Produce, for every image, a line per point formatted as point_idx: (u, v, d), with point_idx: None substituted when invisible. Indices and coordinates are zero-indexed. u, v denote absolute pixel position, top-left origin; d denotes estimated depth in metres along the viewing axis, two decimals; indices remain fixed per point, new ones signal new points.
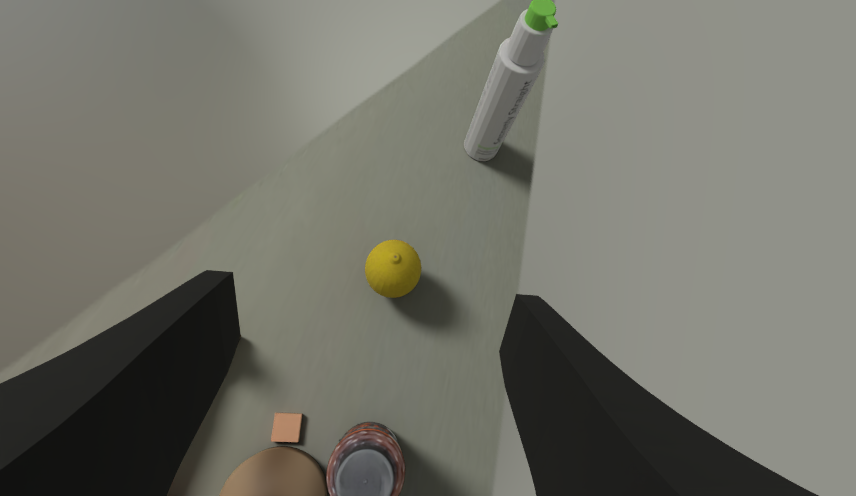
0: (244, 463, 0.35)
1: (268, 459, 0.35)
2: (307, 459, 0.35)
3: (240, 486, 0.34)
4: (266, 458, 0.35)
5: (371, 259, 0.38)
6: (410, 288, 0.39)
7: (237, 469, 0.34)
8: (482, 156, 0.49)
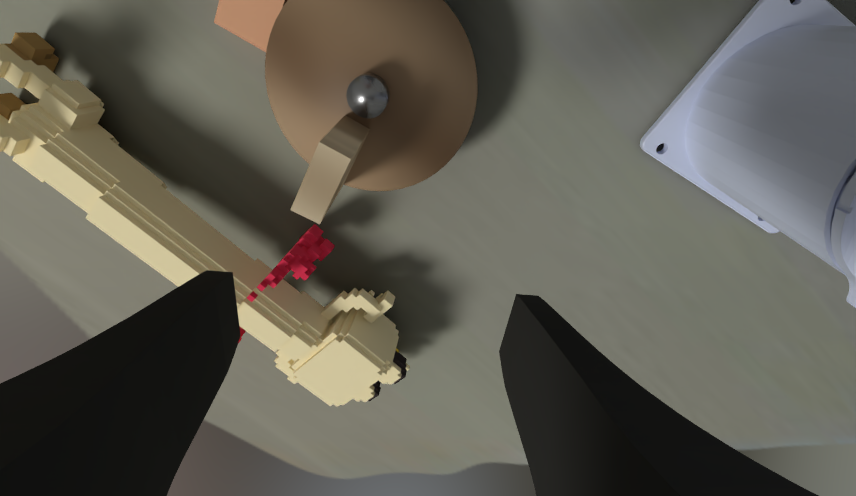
0: (276, 111, 0.17)
1: (283, 64, 0.16)
2: None
3: (313, 132, 0.18)
4: (280, 67, 0.16)
5: None
6: None
7: (282, 127, 0.18)
8: None
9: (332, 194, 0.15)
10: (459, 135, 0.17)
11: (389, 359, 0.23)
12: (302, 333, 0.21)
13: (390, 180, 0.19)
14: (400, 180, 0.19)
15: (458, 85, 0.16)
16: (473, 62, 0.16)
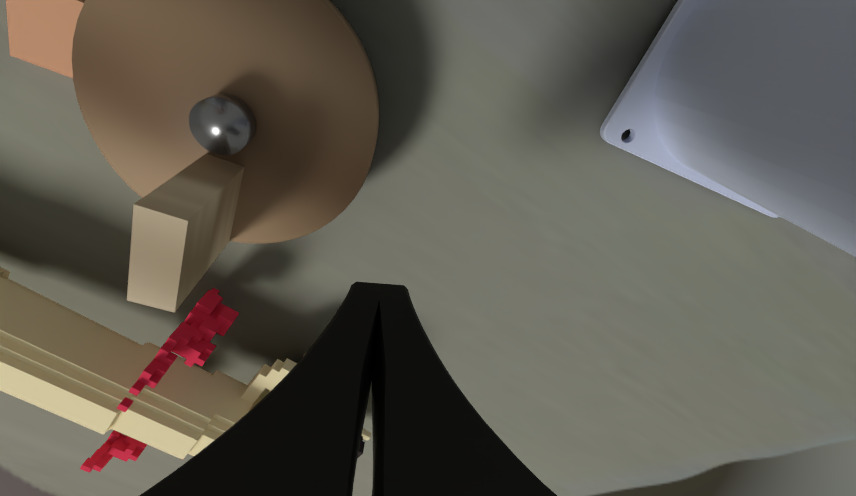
0: (113, 161, 0.13)
1: (102, 97, 0.12)
2: None
3: None
4: (99, 103, 0.12)
5: None
6: None
7: (128, 180, 0.13)
8: None
9: (178, 271, 0.10)
10: (363, 158, 0.13)
11: None
12: (215, 430, 0.17)
13: (288, 227, 0.14)
14: (301, 225, 0.14)
15: (346, 94, 0.12)
16: (359, 60, 0.12)
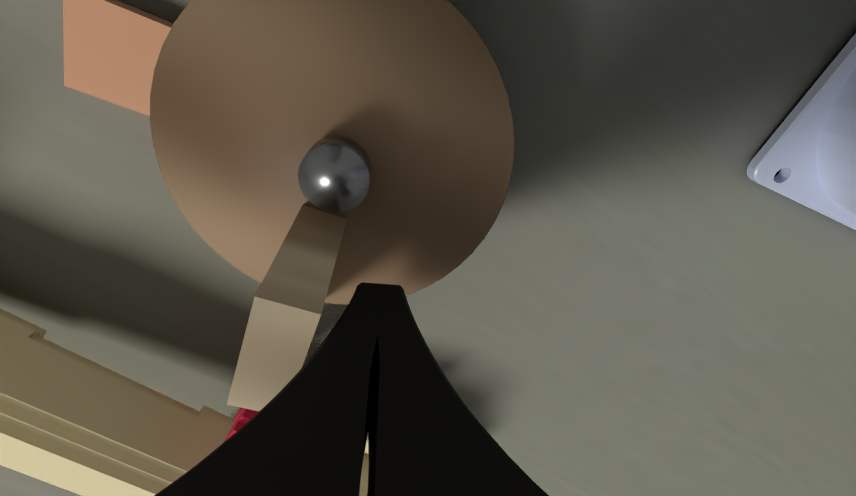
0: (189, 215, 0.11)
1: (183, 141, 0.10)
2: None
3: (256, 236, 0.11)
4: (180, 147, 0.10)
5: None
6: None
7: (205, 236, 0.11)
8: None
9: (297, 371, 0.08)
10: (490, 208, 0.11)
11: None
12: None
13: None
14: (404, 284, 0.12)
15: (482, 134, 0.10)
16: (504, 94, 0.09)
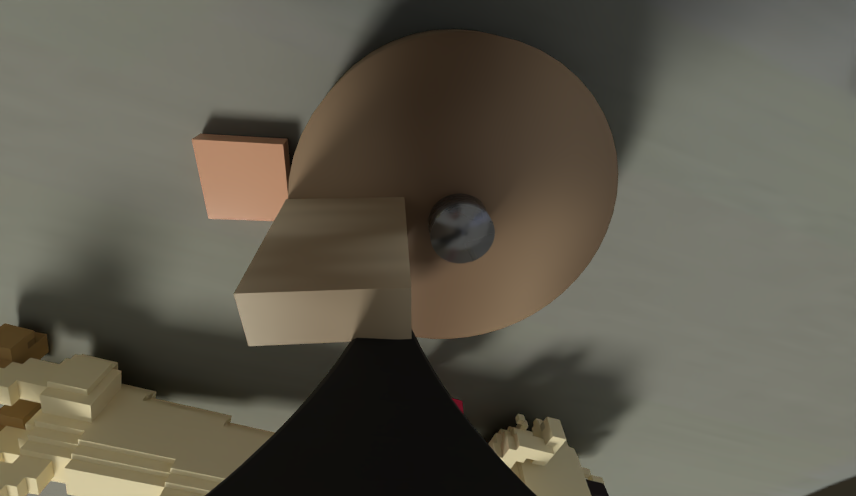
0: (342, 89, 0.09)
1: (428, 71, 0.09)
2: None
3: (347, 163, 0.10)
4: (420, 69, 0.09)
5: None
6: None
7: (322, 110, 0.09)
8: None
9: (326, 340, 0.08)
10: (459, 331, 0.13)
11: None
12: None
13: None
14: None
15: (515, 302, 0.13)
16: (548, 302, 0.13)
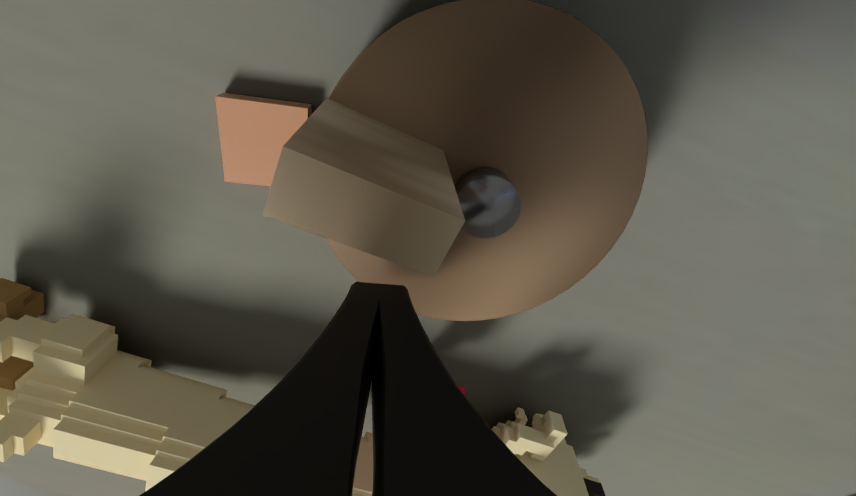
0: (441, 13, 0.09)
1: (526, 39, 0.09)
2: None
3: (407, 90, 0.09)
4: (521, 32, 0.09)
5: None
6: None
7: (411, 24, 0.09)
8: None
9: (348, 243, 0.07)
10: (426, 309, 0.13)
11: None
12: None
13: None
14: None
15: (490, 299, 0.12)
16: (518, 311, 0.13)
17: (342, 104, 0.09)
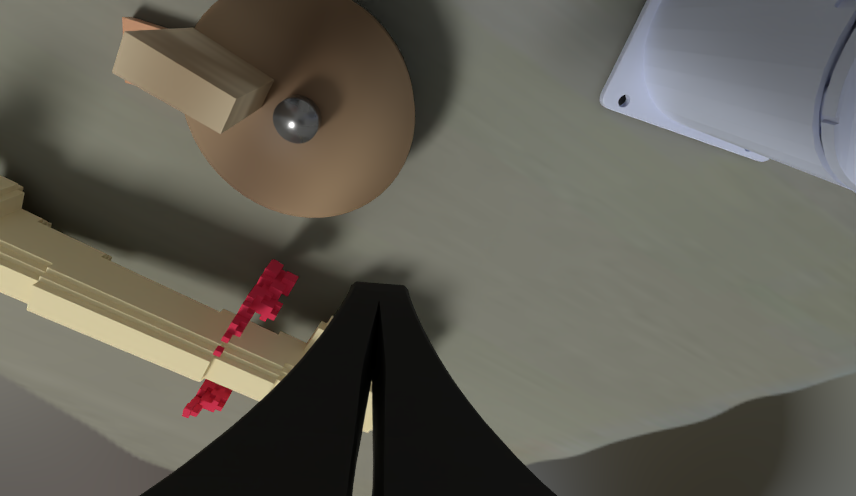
0: None
1: (327, 13, 0.14)
2: (405, 69, 0.15)
3: (248, 32, 0.14)
4: (322, 8, 0.14)
5: None
6: None
7: None
8: None
9: (166, 100, 0.11)
10: (265, 201, 0.17)
11: None
12: None
13: (200, 123, 0.16)
14: (203, 135, 0.16)
15: (313, 201, 0.17)
16: (334, 214, 0.18)
17: (203, 34, 0.14)
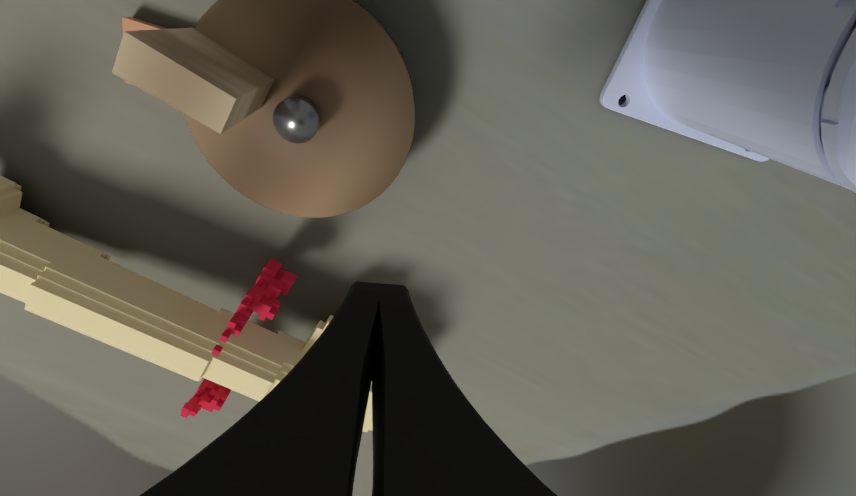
0: None
1: (327, 13, 0.14)
2: (405, 69, 0.15)
3: (248, 32, 0.14)
4: (322, 8, 0.14)
5: None
6: None
7: None
8: None
9: (166, 100, 0.11)
10: (265, 201, 0.17)
11: None
12: (285, 375, 0.20)
13: (200, 123, 0.16)
14: (203, 135, 0.16)
15: (313, 201, 0.17)
16: (334, 214, 0.18)
17: (203, 34, 0.14)
